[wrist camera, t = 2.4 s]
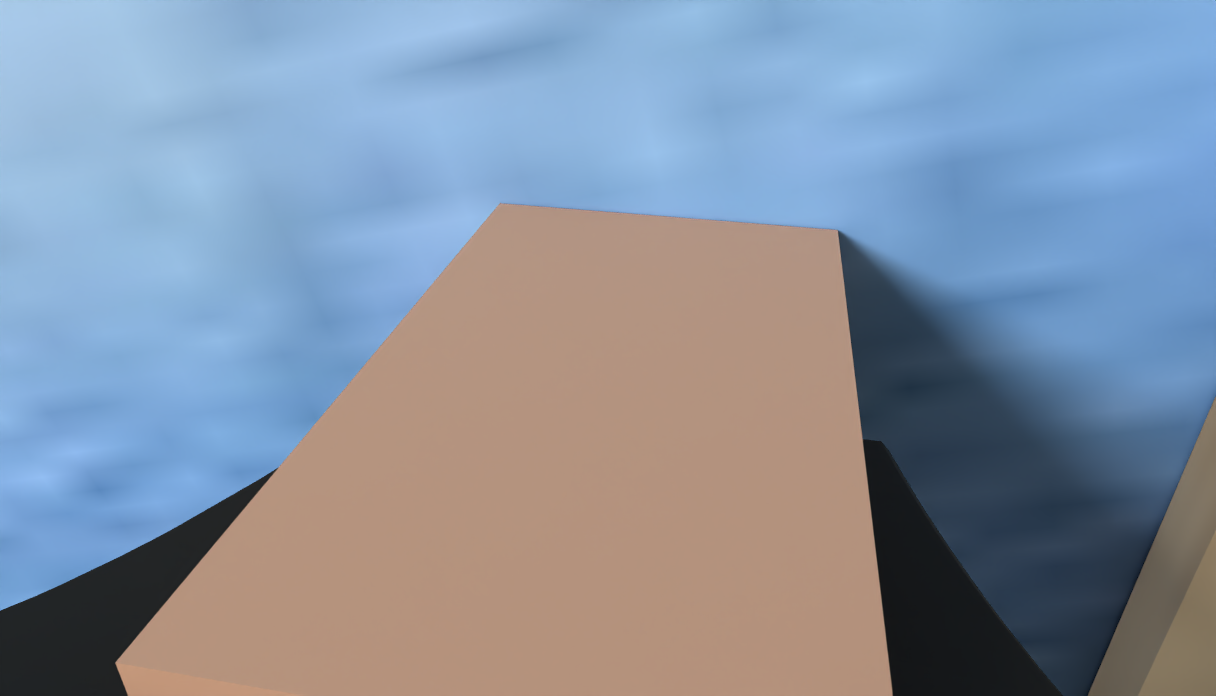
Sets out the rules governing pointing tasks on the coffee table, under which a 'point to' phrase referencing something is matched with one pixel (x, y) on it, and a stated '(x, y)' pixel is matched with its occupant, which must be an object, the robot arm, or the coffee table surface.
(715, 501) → the keyed peg
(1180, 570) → the socket stand
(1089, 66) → the coffee table surface
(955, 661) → the robot arm
